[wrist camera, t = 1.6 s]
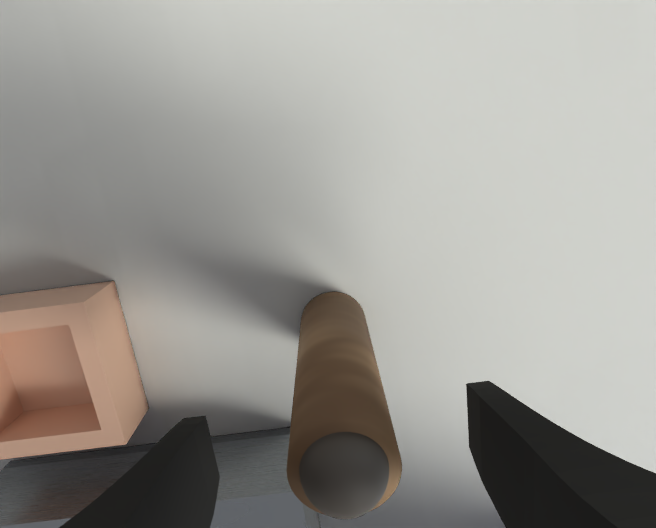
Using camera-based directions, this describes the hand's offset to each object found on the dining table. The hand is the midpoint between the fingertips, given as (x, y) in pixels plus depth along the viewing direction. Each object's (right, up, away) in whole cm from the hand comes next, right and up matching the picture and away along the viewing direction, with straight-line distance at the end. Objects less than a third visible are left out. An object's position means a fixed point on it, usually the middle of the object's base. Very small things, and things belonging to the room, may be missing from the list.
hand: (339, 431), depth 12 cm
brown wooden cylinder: (0, +2, +7) cm, 8 cm away
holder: (-12, +1, +7) cm, 14 cm away
